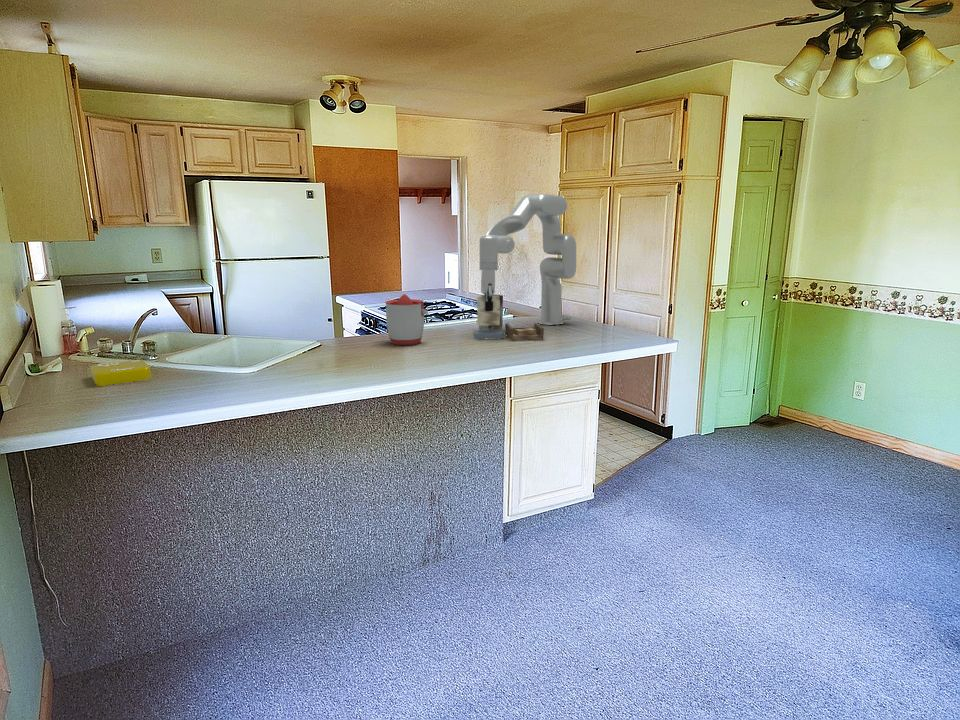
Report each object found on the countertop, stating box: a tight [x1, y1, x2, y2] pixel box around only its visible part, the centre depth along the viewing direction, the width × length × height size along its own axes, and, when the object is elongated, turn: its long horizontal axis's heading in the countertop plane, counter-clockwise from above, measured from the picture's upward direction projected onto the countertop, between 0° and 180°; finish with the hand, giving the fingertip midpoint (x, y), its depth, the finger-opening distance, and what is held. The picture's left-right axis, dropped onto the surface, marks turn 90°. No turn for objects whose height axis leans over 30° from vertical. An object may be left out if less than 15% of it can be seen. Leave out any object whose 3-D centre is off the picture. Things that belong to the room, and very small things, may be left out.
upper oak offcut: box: [515, 327, 536, 336], centre depth 251 cm, size 8×4×2 cm, turn 113°
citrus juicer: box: [384, 293, 430, 346], centre depth 241 cm, size 16×17×20 cm
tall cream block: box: [476, 295, 500, 327], centre depth 252 cm, size 9×4×12 cm, turn 96°
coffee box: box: [478, 293, 504, 331], centre depth 268 cm, size 9×6×16 cm
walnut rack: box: [504, 322, 545, 341], centre depth 253 cm, size 14×14×5 cm
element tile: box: [89, 359, 152, 387], centre depth 188 cm, size 15×15×5 cm
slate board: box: [473, 329, 505, 340], centre depth 254 cm, size 12×8×2 cm, turn 96°
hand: (488, 309), depth 251 cm, fingers closed on tall cream block, 4 cm apart
